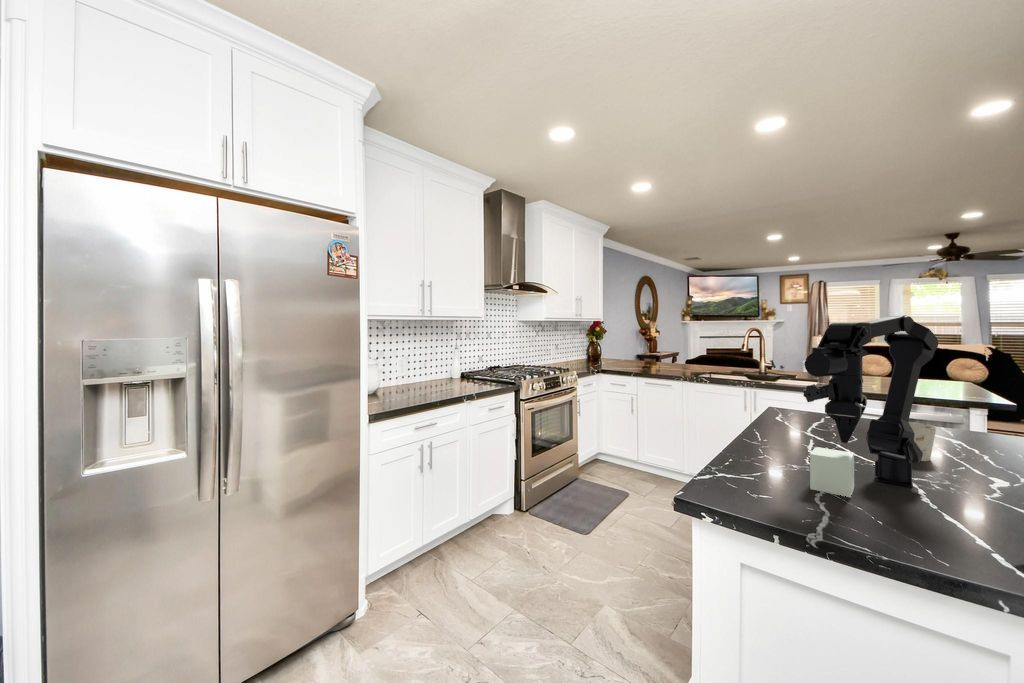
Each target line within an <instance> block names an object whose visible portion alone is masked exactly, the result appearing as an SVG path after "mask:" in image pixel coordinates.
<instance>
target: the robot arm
mask: <svg viewBox="0 0 1024 683" xmlns="http://www.w3.org/2000/svg"><path fill="white" fill-rule="evenodd" d="M827 327H828V328H826V330H825V331H824V334H823V335H822V337H821V339H820V341H819V343H818V345H817V347H813V348H812V349H813V350H812V351H813V352H812V353H810V354H809V355H807V357H806V359H805V360H804V368H805V370H806V372H807V373H808V374H809V375H810V376H812V377H816V378H821V377H830V379H828V383H825V384H820V385H819V384H818V385H816V384H810V385H809V384H808V385H806V388H803V389H802V393H803V397H805V399H806V402H807V403H811V402H814V401H818V400H821V399H828V402H826V403H825V405H824V413H825V414H826V416H827V417H830V418H831V419H832V420H833V421H834V422H835V425H836V428H837V432H838V436H839V438H840V442H841V444H842V443H843V444H848V443H849V441H850V439H851V437H852V435H853V433H854V431H855V429H856V428H857V425H858V423H859V422H860V420H861V418H862V416H863V414H864V412H865V410H866V409H867V405H868V404H867V403H868V397H867V396H866V395H865V394H864V393H863V384H864V378H863V356H868V353H869V352H868V351H867V350H866V349H864V348H863V347H864V346H865V345H867V344H870V343H871V342H872V339H874V338H878V337H883V336H884V337H883V340H884V342H885V343H886V344H887V345H888V346H889V350H888V352H889V354H890V356H891V358H892V360H893V361H894V365H893V370H892V374H891V379H890V382H889V387H888V390H887V391H888V392H887V394H886V399H885V403H884V408H883V411H882V415H880V417H878V418H877V419H874V418H873V419H871V420H870V422H869V426H868V430H867V432H866V437H865V439H866V443H867V447H868V450H869V454H872V455H873V454H874V455H876V456H877V458H875V459H874V460H875V461H874V476H875V477H877V478H876V481H877V482H881V483H888V484H894V485H899V486H904V487H910V488H913V487H914V486H913V485H914V482H913V480H914V479H913V463H914V464H920V463H921V462H922V461H921V459H922V455H923V452H922V451H921V450H920V448H919V447H918V446H917V444H916V443H915V441H914V436H915V434H914V432H913V430H912V428H911V426H910V424H909V422H910V421H909V420H910V416H911V411H912V408H913V404H914V403H913V402H914V398H915V394H916V390H917V386H918V381H919V377H920V373H921V369H922V367H924V366H925V365H926V364H927V363H928V362H930V361H931V360H932V359H933V358H934V355H935V352H936V350H937V349H938V348H939V340H938V337H937V336H936V335H935V334H934V333H933V331H932V330H931V329H930V328H928V327H927V326H925V325H923V324H920V323H918V322H916V321H915V320H914V319H913V318H912V317H911V316H907V315H906V314H905V315H904V314H903V315H887V316H883V317H881V318H880V317H879V318H876V319H871V320H867V321H862V322H860V321H859V322H857V321H855V322H832V323H830V324H828V326H827Z"/></svg>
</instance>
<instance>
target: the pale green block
mask: <svg viewBox="0 0 1024 683" xmlns="http://www.w3.org/2000/svg"><path fill="white" fill-rule="evenodd" d="M809 484H810V485H809V486H810V487H809V488H810V490H813V491H818V492H822V493H827V494H831V495H836V496H840V495H841V497H845V496H846V498H852V496H853V493H854V489H855V452H852V451H844V450H839V449H838V450H837V449H831V448H826V447H825V448H824V447H818V446H815V447H814V448H813V449H812V451H811V452H810V453H809ZM851 495H852V496H851Z"/></svg>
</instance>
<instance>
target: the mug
mask: <svg viewBox="0 0 1024 683" xmlns="http://www.w3.org/2000/svg"><path fill="white" fill-rule="evenodd" d="M908 422H909V424H910V426H911V428H912V430H913V432H914V434H915V436H914V441H915V443H916V444H917V446H918V447H919V448H920V450H921V451H922V452H923V455H922V459H921V461H920V462H929V461H931V457H932V451H933V446H934V442H935V437H936V436H935V435H936V432H937V431H936V430H937V427H936V426H935V425H933V424H929V423H923V422H914V421H908Z"/></svg>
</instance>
